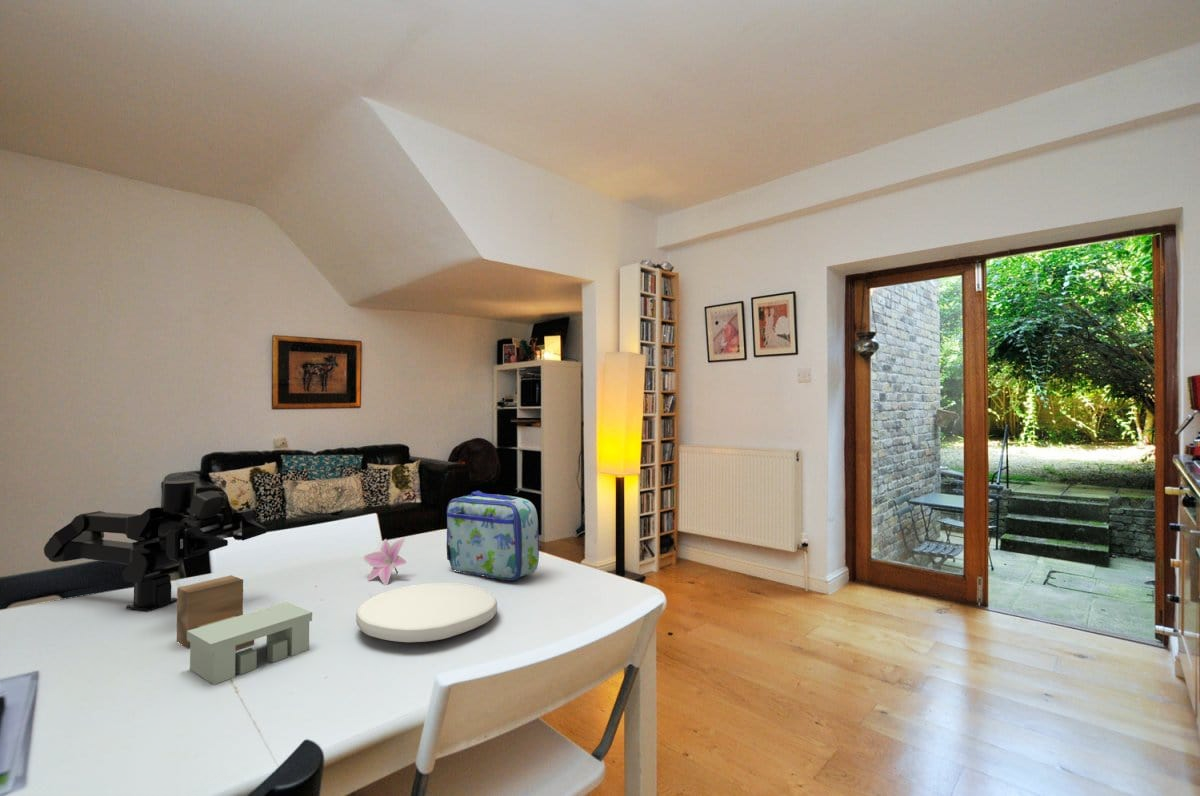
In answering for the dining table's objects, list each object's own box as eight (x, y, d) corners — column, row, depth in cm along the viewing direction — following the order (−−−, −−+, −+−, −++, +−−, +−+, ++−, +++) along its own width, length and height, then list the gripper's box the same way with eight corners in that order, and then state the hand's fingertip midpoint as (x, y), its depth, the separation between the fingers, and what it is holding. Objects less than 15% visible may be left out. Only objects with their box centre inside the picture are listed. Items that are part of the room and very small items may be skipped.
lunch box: (439, 571, 146) (440, 492, 146) (469, 561, 155) (469, 487, 155) (514, 588, 132) (515, 501, 132) (542, 576, 141) (542, 495, 141)
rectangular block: (176, 641, 101) (177, 587, 102) (230, 625, 109) (231, 575, 109) (207, 659, 94) (207, 601, 94) (262, 641, 102) (263, 587, 102)
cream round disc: (408, 574, 127) (516, 583, 122) (405, 603, 127) (515, 613, 121) (325, 604, 100) (460, 616, 95) (322, 641, 99) (458, 656, 94)
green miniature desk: (186, 670, 90) (186, 630, 91) (286, 636, 104) (286, 602, 104) (210, 685, 85) (210, 644, 86) (311, 648, 99) (312, 612, 99)
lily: (362, 578, 143) (351, 550, 138) (404, 553, 149) (395, 526, 145) (381, 603, 135) (369, 575, 130) (424, 576, 141) (415, 549, 137)
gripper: (142, 501, 108) (204, 508, 105) (227, 484, 126) (283, 489, 123) (142, 557, 109) (204, 565, 105) (227, 532, 127) (283, 538, 123)
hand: (247, 536), depth 114 cm, fingers open, 9 cm apart
